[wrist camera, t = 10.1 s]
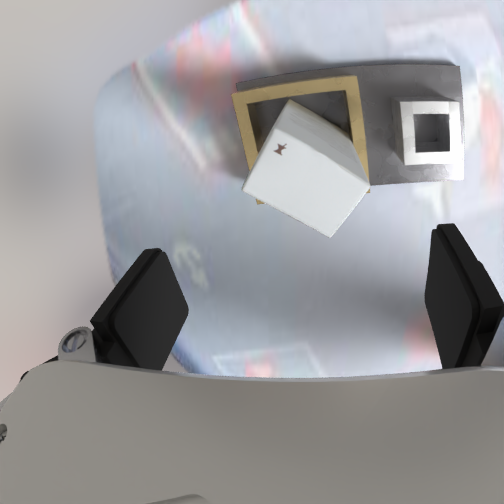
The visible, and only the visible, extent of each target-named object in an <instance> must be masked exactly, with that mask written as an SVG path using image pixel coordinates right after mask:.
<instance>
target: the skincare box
mask: <svg viewBox="0 0 504 504" xmlns="http://www.w3.org/2000/svg"><path fill="white" fill-rule="evenodd" d="M370 187H371V186H370V183H369V180H368V178H367V176H366V173H365V171H364V168H363V166H362V164H361V162H360V159H359V157H358V154H357V152H356V150H355V148H354V146H353V143H352V141H351V139H350V137H349V134H348V133H347V132H345V131H344V130H342V129H341V128H339V127H338V126H336V125H334V124H333V123H331V122H329V121H328V120H326V119H324V118H323V117H321V116H319V115H318V114H316V113H314V112H312V111H311V110H309V109H307V108H305V107H303V106H302V105H300V104H298V103H296V102H294V101H293V100H291V99H289V100H288V101H287V103H286V105H285V106H284V108H283V110H282V111H281V113H280V115H279V117H278V118H277V120H276V122H275V124H274V126H273V127H272V129H271V131H270V133H269V135H268V137H267V139H266V141H265V142H264V145H263V146H262V148H261V150H260V152H259V154H258V156H257V158H256V160H255V162H254V164H253V166H252V168H251V170H250V172H249V174H248V176H247V178H246V180H245V182H244V184H243V186H242V191H243V192H245V193H247V194H249V195H250V196H252V197H254V198H256V199H258V200H260V201H262V202H264V203H266V204H267V205H269V206H271V207H273V208H275V209H277V210H279V211H281V212H283V213H285V214H287V215H288V216H290V217H292V218H294V219H296V220H298V221H300V222H302V223H303V224H305V225H307V226H309V227H311V228H313V229H314V230H316V231H318V232H320V233H322V234H323V235H325V236H327V237H328V238H331V237H332V236H333V234H334V233H335V232H336V231H337V229H338V228H339V227H340V226H341V224H342V223H343V222H344V221H345V219H346V218H347V217H348V216H349V214H350V213H351V212H352V211H353V209H354V208H355V207H356V205H357V204H358V203H359V202H360V200H361V199H362V198H363V196H364V195H365V194H366V192H367V191H368V190H369V188H370Z"/></svg>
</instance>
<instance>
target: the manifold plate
mask: <svg viewBox="0 0 504 504" xmlns="http://www.w3.org/2000/svg"><path fill="white" fill-rule="evenodd" d="M236 86H237V90H238V92H235V93H233V94H231V96H232V100H233V104H234V109H235V113H236V117H237V121H238V125H239V129H240V133H241V138H242V142H243V146H244V150H245V154H246V159H247V163H248V167H249V171H250V170H251V168H252V166H253V164H254V162H255V160H256V158H257V156H258V154H259V152H260V150H261V148H262V146H263V145H264V142H265V141H266V139H267V137H268V135H269V133H270V131H271V129H272V127H273V126H274V124H275V122H276V120H277V118H278V117H279V115H280V113H281V111H282V110H283V108H284V106H285V105H286V103H287V101H288V100H289V99H291V100H293V101H294V102H296V103H298V104H300V105H302V106H303V107H305V108H307V109H309V110H311V111H312V112H314V113H316V114H318V115H319V116H321V117H323V118H324V119H326V120H328V121H329V122H331V123H333V124H334V125H336V126H338V127H339V128H341V129H342V130H344V131H345V132H347V133H348V134H349V137H350V139H351V141H352V143H353V146H354V148H355V150H356V152H357V154H358V157H359V159H360V162H361V164H362V166H363V168H364V171H365V173H366V176H367V178H368V180H369V183H370V186H372V185H385V184H399V183H414V182H431V181H452V180H463V174H464V114H463V97H462V85H461V74H460V66H453V65H432V64H387V65H365V66H350V67H338V68H328V69H319V70H311V71H303V72H296V73H289V74H283V75H277V76H271V77H265V78H260V79H255V80H250V81H245V82H240V83H236ZM366 193H370V188H369V190H368V191H367V192H366ZM256 201H257V204H264V202H262V201H260V200H258V199H256Z"/></svg>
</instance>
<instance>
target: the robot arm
mask: <svg viewBox="0 0 504 504" xmlns="http://www.w3.org/2000/svg"><path fill="white" fill-rule="evenodd" d="M425 304H426V308H427V311H428V315H429V318H430V321H431V325H432V329H433V332H434V336H435V340H436V344H437V347H438V352H439V356H440V360H441V364H442V368H443V369H438V370H430V371H420V372H410V373H398V374H384V375H370V376H353V377H328V378H262V377H235V376H217V375H203V374H191V373H179V372H169V371H162V369H163V366H164V364H165V362H166V360H167V358H168V356H169V354H170V352H171V350H172V347H173V345H174V343H175V341H176V339H177V337H178V335H179V333H180V331H181V328H182V326H183V324H184V322H185V320H186V318H187V316H188V312H189V309H188V305H187V303H186V300H185V298H184V296H183V293H182V291H181V289H180V286H179V284H178V281H177V279H176V277H175V274H174V272H173V269H172V267H171V264H170V262H169V259H168V257H167V255H166V253H165V252H162V250H161V249H159V248H154V249H145V250H144V251H143V252H142V253H141V255H140V256H139V257H138V258H137V260H136V261H135V262H134V263H133V265H132V266H131V267H130V268H129V270H128V271H127V272H126V273H125V275H124V276H123V277H122V279H121V280H120V281H119V282H118V284H117V285H116V286H115V288H114V289H113V290H112V292H111V293H110V294H109V296H108V297H107V298H106V300H105V301H104V302H103V304H102V305H101V307H100V308H99V309H98V311H97V312H96V313H95V315H94V316H93V317H92V319H91V320H90V322H91V324H92V325H93V327H94V329H93V331H91V329H89V328H88V327H78V328H75V329H73V330H71V331H70V332H68V333H67V334H66V335H65V336H64V337H63V338H62V340H61V342H60V343H59V348H58V356H56V357H54V358H52V359H50V360H48V361H46V362H45V363H43V364H41V365H39V366H36V367H35V368H33V369H31V370H30V371H27V372H25V373H24V374H23V376H22V377H21V380H20V382H19V384H18V385H17V387H16V388H15V389H14V391H13V392H12V393H11V394H10V395H8V396H7V397H6V398H5V399H4V400H3V401H1V402H0V504H504V302H503V300H502V298H501V297H500V295H499V293H498V291H497V289H496V287H495V285H494V284H493V282H492V280H491V278H490V276H489V275H488V273H487V271H486V270H485V268H484V266H483V264H482V263H481V262H480V261H478V260H477V258H476V257H475V255H474V253H473V252H472V250H471V248H470V247H469V245H468V244H467V242H466V241H465V239H464V237H463V236H462V234H461V233H460V231H459V230H458V228H457V227H456V225H455V224H454V223H451V224H438V225H437V229H433V230H432V235H431V246H430V256H429V266H428V274H427V281H426V289H425Z"/></svg>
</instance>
